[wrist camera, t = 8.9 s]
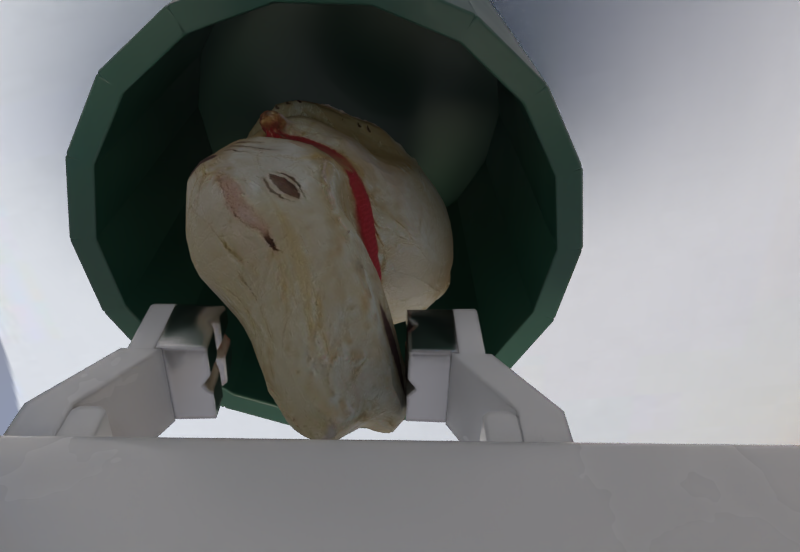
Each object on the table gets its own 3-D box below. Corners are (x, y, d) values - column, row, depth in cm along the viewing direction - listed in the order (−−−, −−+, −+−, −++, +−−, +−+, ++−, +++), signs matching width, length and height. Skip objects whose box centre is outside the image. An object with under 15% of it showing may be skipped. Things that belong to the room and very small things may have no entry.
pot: (158, -84, 24) (-3, -41, 14) (536, -71, 25) (636, -21, 15) (203, 244, 31) (117, 426, 21) (497, 250, 32) (546, 431, 22)
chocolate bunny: (402, 39, 18) (446, 202, 10) (464, 276, 22) (534, 536, 14) (209, 97, 19) (90, 299, 10) (305, 318, 23) (277, 593, 14)
